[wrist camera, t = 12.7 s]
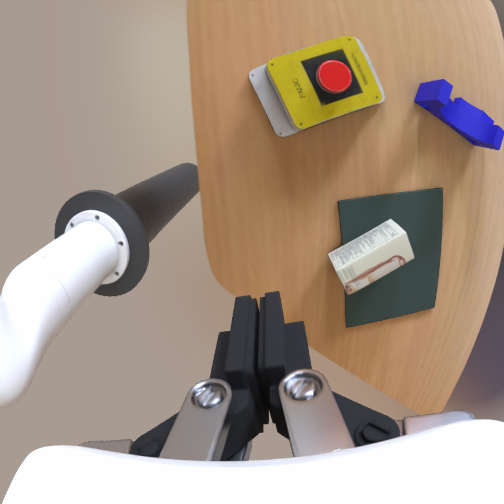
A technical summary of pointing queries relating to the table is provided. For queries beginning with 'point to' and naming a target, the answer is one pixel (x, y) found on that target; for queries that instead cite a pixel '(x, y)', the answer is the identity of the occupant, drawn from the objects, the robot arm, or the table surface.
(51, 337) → the robot arm
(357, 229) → the mat
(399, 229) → the printed medicine box
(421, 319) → the table surface
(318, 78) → the emergency button
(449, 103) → the cable clip
